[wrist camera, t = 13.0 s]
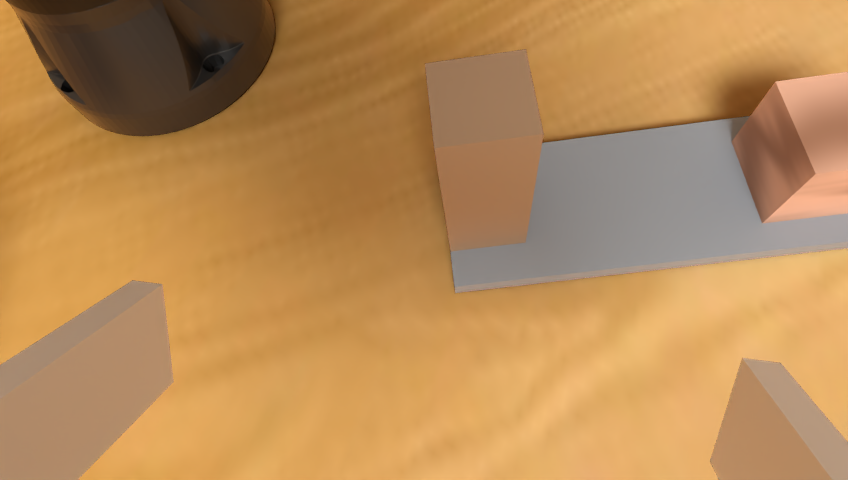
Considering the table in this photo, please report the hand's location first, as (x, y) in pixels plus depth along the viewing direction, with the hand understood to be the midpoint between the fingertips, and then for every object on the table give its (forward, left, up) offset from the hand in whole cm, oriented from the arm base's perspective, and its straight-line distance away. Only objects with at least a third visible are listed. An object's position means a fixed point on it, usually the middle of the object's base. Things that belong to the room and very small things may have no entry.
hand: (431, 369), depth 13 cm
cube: (-11, +19, -14) cm, 26 cm away
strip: (-11, +11, -15) cm, 22 cm away
